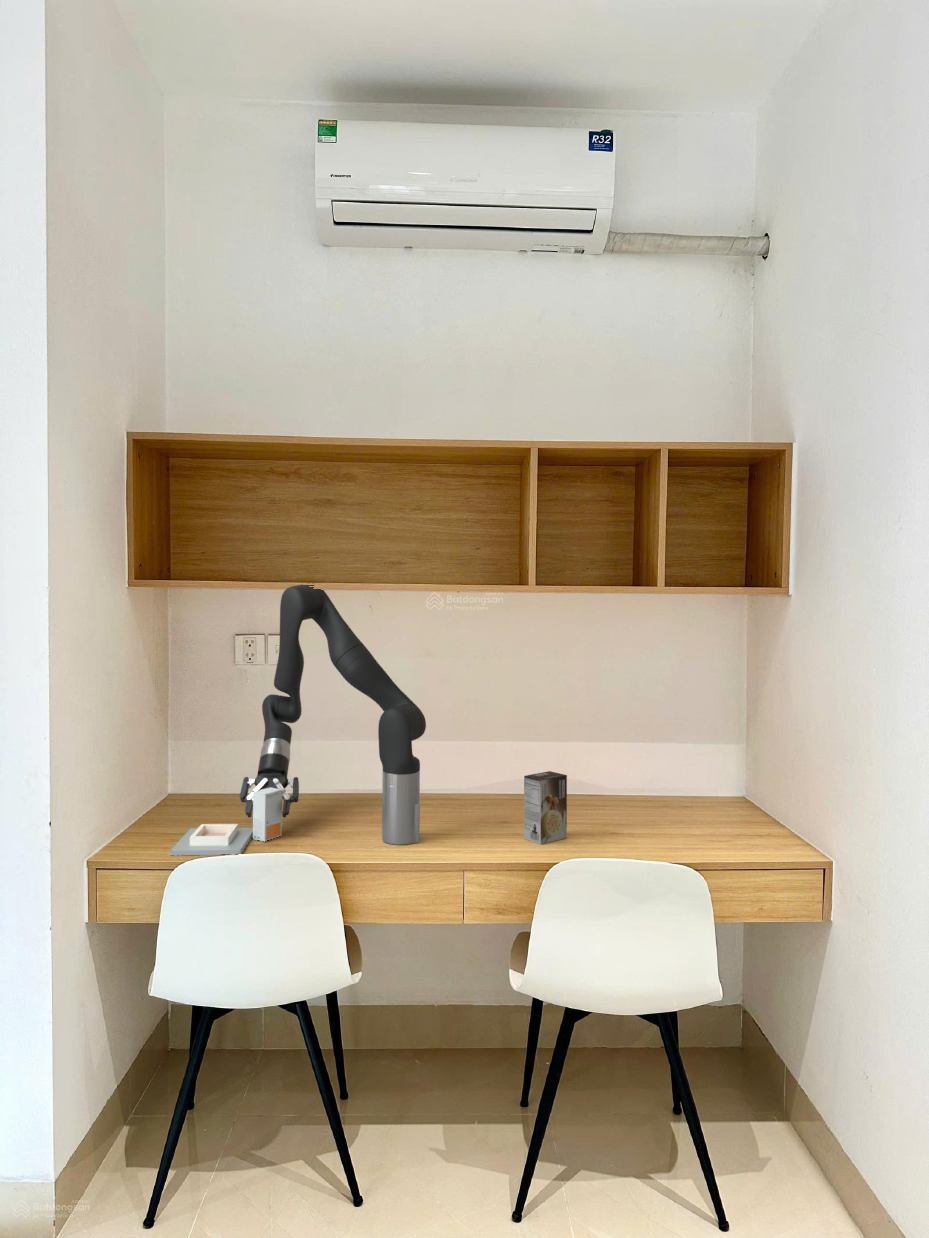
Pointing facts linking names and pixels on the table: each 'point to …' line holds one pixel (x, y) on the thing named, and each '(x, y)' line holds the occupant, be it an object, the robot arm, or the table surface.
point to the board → (213, 840)
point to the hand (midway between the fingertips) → (266, 815)
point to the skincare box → (267, 814)
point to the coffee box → (545, 807)
